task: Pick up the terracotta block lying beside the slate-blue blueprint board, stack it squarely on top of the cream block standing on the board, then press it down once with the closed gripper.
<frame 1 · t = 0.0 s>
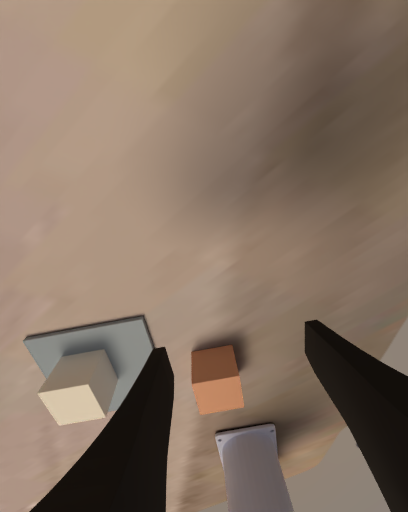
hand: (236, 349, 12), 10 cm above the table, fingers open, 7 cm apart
terracotta block: (214, 362, 26), on the table
cream block: (90, 368, 24), resting on blueprint board
blueprint board: (104, 369, 25), on the table
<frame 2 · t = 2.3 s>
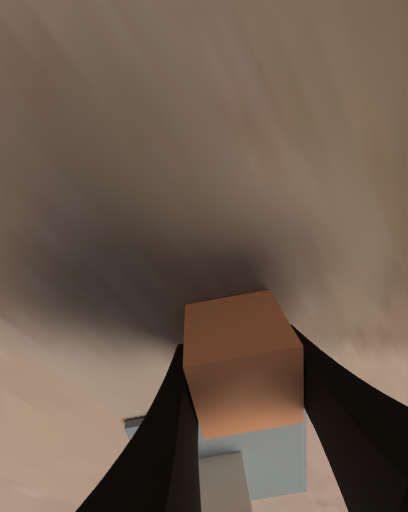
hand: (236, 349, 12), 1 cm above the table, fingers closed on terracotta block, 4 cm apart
terracotta block: (231, 330, 13), on the table, touching gripper
cream block: (215, 473, 17), resting on blueprint board
blueprint board: (225, 456, 18), on the table
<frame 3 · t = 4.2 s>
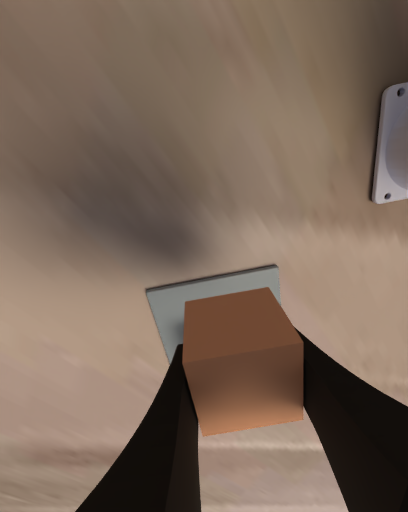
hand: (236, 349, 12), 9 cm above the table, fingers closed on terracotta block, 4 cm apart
terracotta block: (231, 327, 13), point 8 cm above the table, touching gripper
blueprint board: (221, 328, 23), on the table
when the fingers open (7 cm above the table, at t = 6.1 s): terracotta block stays where it is, resting on cream block.
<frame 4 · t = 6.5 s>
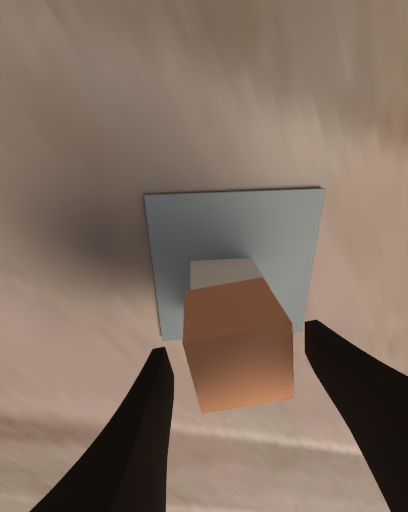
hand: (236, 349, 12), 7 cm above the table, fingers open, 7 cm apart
terracotta block: (228, 316, 14), point 4 cm above the table, touching cream block
cream block: (221, 286, 18), resting on blueprint board, touching terracotta block
blueprint board: (233, 270, 18), on the table
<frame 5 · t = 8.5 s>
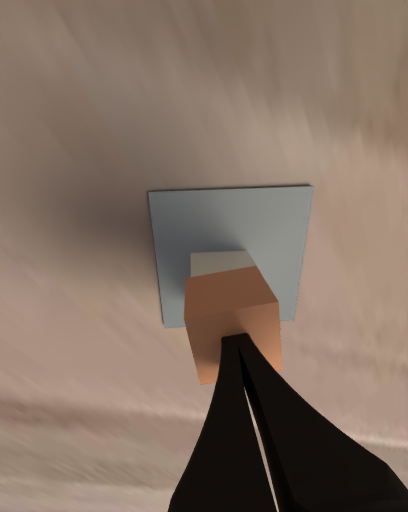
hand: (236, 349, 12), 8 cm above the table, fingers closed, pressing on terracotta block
terracotta block: (225, 301, 15), point 4 cm above the table, touching cream block, gripper
cream block: (218, 276, 19), resting on blueprint board, touching terracotta block
blueprint board: (230, 262, 19), on the table
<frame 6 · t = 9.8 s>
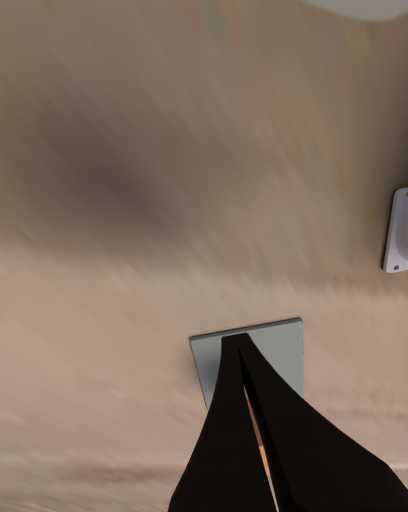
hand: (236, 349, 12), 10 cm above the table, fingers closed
blueprint board: (250, 368, 27), on the table
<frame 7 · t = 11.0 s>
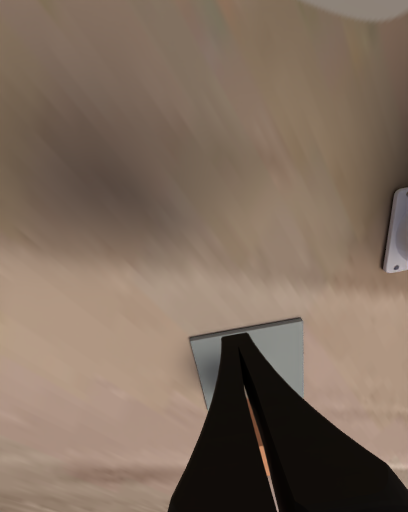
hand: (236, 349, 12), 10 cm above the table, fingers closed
blueprint board: (250, 368, 27), on the table
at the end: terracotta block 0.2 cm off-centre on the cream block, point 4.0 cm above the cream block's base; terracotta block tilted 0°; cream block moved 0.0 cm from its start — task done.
